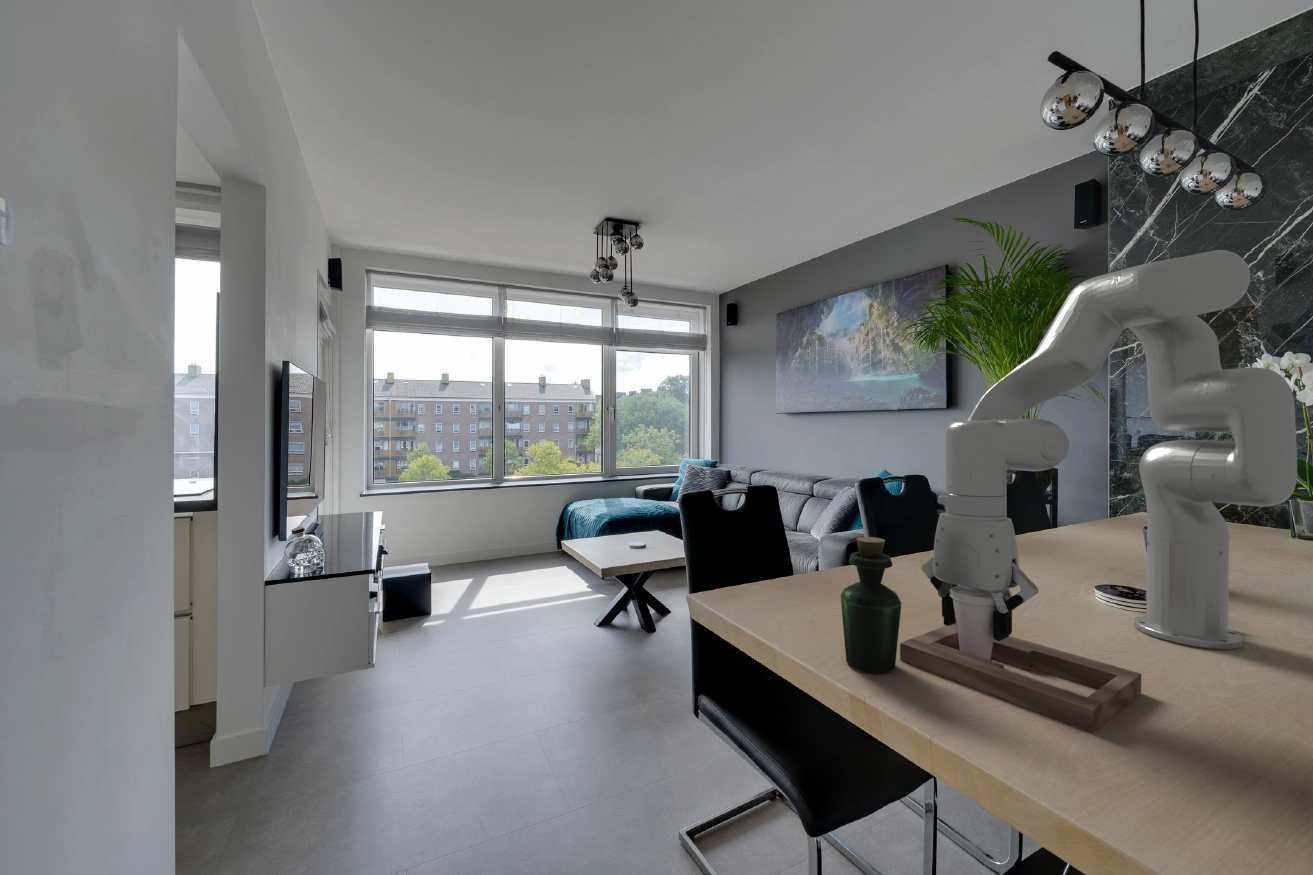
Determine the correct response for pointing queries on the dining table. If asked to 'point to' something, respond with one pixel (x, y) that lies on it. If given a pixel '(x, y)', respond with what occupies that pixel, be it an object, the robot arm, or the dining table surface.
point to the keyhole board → (990, 677)
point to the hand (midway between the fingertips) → (975, 629)
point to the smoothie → (974, 620)
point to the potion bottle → (870, 611)
